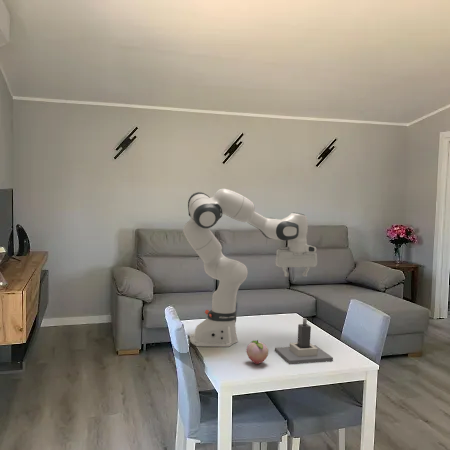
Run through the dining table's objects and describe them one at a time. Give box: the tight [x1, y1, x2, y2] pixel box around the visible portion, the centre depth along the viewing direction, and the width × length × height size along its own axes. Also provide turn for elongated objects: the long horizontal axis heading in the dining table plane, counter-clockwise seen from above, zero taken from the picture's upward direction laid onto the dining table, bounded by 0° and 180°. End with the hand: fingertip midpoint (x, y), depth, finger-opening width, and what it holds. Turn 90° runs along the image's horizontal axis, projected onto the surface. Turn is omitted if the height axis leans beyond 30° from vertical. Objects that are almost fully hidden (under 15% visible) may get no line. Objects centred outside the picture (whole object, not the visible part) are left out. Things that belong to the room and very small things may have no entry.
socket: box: [274, 342, 334, 365], centre depth 202 cm, size 20×16×4 cm
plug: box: [296, 317, 312, 349], centre depth 202 cm, size 4×4×15 cm
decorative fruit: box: [245, 339, 269, 365], centre depth 191 cm, size 9×8×10 cm
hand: (295, 276), depth 221 cm, fingers open, 8 cm apart
